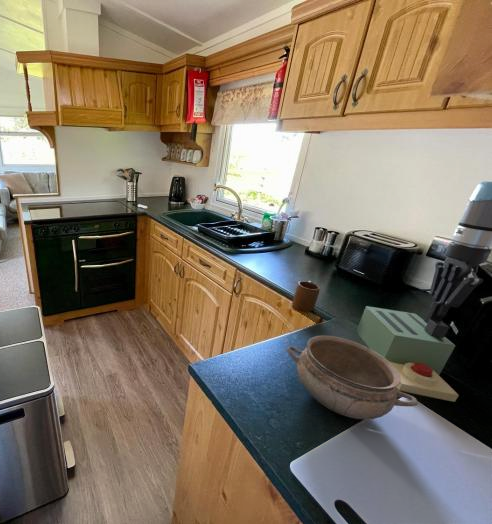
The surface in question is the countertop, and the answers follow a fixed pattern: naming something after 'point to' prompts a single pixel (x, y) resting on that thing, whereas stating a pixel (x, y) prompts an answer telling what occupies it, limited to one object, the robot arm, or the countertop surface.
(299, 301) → the mug
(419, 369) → the button
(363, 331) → the toaster
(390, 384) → the cooking pot
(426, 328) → the toaster slider
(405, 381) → the box
